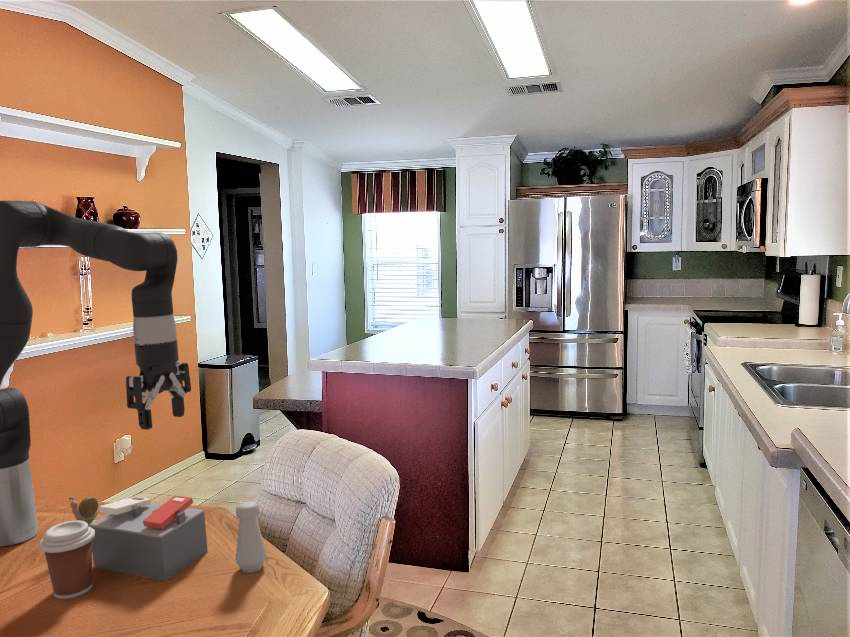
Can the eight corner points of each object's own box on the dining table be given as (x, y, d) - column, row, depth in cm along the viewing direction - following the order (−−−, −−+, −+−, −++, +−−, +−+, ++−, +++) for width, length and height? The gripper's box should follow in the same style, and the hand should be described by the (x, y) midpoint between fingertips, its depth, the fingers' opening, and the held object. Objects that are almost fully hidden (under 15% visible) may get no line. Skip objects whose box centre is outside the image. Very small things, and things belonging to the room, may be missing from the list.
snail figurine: (67, 550, 138) (60, 496, 136) (92, 536, 144) (86, 484, 142) (85, 554, 136) (79, 499, 134) (111, 540, 142) (105, 487, 140)
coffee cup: (42, 588, 123) (34, 527, 121) (95, 571, 128) (88, 513, 127) (49, 609, 115) (41, 544, 114) (105, 590, 121) (98, 529, 119)
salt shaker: (258, 576, 124) (253, 511, 122) (230, 574, 125) (225, 509, 123) (271, 561, 129) (267, 498, 128) (245, 559, 131) (240, 497, 129)
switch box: (93, 567, 130) (88, 515, 129) (139, 540, 141) (135, 492, 140) (165, 581, 123) (160, 526, 122) (207, 551, 135) (203, 501, 133)
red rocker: (144, 526, 126) (142, 520, 125) (175, 500, 134) (174, 494, 133) (162, 529, 124) (160, 522, 124) (193, 502, 132) (191, 497, 132)
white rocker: (99, 512, 129) (99, 505, 129) (134, 502, 138) (134, 495, 138) (116, 514, 128) (116, 508, 128) (150, 504, 136) (150, 498, 136)
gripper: (166, 333, 131) (173, 411, 133) (110, 344, 118) (118, 431, 120) (197, 333, 129) (203, 413, 131) (143, 345, 115) (151, 434, 117)
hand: (163, 422), depth 125 cm, fingers open, 8 cm apart
